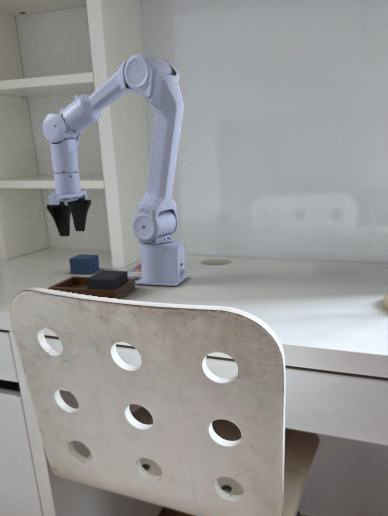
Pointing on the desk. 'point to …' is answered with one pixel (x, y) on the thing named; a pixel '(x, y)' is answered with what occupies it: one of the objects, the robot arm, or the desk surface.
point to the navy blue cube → (84, 264)
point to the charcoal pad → (107, 280)
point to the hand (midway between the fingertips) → (72, 233)
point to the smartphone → (135, 272)
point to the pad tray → (80, 286)
